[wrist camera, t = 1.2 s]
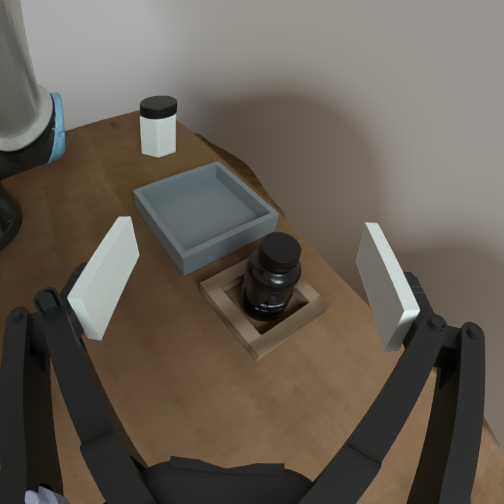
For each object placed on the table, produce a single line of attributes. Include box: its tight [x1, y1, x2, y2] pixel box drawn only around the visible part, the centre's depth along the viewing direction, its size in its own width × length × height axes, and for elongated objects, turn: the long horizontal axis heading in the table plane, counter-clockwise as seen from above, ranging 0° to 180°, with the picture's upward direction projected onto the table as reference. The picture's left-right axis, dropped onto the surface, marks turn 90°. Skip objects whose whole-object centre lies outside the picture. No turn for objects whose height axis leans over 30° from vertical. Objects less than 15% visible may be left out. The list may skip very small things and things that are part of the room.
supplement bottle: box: [240, 232, 301, 322], centre depth 40 cm, size 7×7×12 cm
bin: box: [133, 161, 279, 276], centre depth 53 cm, size 18×18×4 cm
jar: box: [140, 96, 177, 158], centre depth 64 cm, size 9×8×12 cm
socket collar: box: [200, 258, 329, 362], centre depth 44 cm, size 13×13×2 cm
